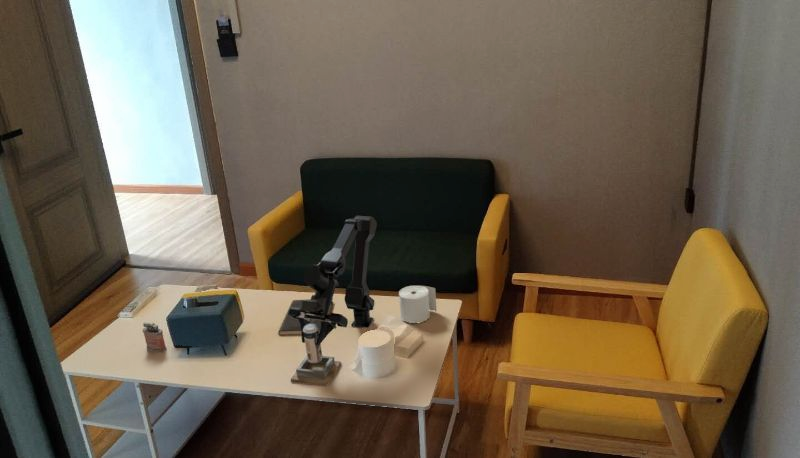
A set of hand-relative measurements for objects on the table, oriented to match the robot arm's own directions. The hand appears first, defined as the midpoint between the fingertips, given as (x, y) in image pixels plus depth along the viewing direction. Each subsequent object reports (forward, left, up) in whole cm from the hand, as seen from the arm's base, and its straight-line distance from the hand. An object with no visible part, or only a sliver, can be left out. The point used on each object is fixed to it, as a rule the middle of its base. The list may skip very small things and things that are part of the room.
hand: (310, 343), depth 190 cm
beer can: (-1, 0, -7) cm, 7 cm away
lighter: (-5, -62, -11) cm, 63 cm away
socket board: (-1, 0, -11) cm, 11 cm away
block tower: (-25, -59, -12) cm, 65 cm away
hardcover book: (-34, -18, -12) cm, 40 cm away
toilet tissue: (-42, +22, -11) cm, 48 cm away
